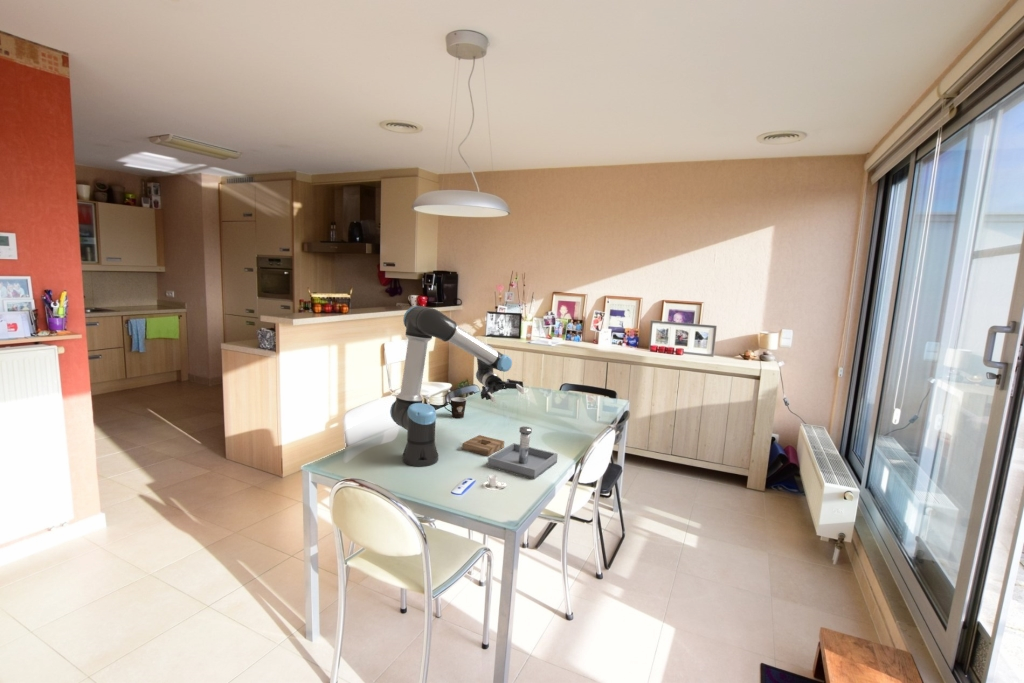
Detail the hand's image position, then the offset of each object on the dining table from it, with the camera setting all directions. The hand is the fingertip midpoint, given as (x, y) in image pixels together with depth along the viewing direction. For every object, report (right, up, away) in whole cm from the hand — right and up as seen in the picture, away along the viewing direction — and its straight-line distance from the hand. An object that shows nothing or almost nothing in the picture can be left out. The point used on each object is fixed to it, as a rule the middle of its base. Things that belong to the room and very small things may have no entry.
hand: (508, 395), depth 217 cm
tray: (+6, -30, -2) cm, 30 cm away
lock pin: (+6, -28, -2) cm, 29 cm away
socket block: (-12, -26, +15) cm, 32 cm away
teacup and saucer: (-5, -33, -27) cm, 43 cm away
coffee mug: (-30, -19, +61) cm, 71 cm away
